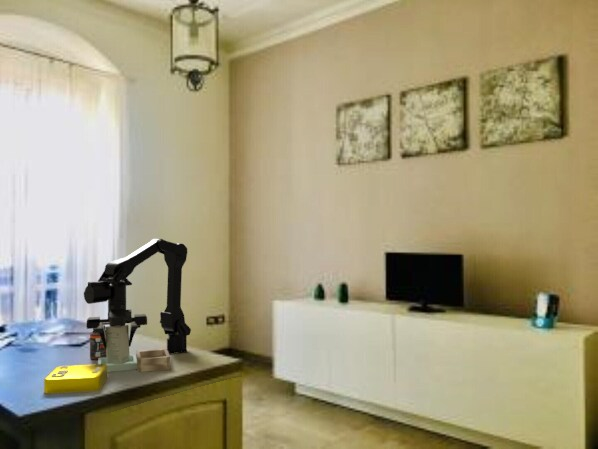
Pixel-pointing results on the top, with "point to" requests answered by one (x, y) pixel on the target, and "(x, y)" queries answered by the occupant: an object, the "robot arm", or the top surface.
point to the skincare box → (117, 344)
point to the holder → (152, 360)
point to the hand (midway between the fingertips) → (117, 347)
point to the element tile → (75, 378)
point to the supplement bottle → (97, 345)
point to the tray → (119, 367)
